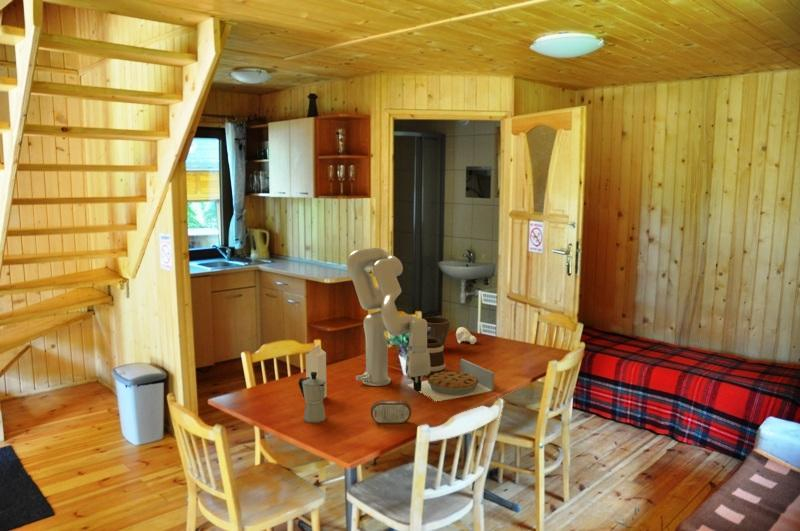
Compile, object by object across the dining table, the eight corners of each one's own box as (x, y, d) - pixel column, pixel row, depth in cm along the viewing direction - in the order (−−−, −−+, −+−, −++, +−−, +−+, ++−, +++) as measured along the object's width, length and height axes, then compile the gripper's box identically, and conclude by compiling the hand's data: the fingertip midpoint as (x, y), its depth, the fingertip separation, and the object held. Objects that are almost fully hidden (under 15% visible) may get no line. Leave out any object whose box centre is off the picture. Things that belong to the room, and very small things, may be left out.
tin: (411, 421, 229) (411, 399, 228) (411, 424, 226) (411, 402, 225) (370, 421, 229) (370, 399, 227) (370, 424, 225) (370, 402, 224)
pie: (466, 399, 250) (466, 387, 249) (418, 391, 261) (419, 379, 260) (486, 384, 269) (486, 373, 268) (440, 377, 280) (440, 366, 279)
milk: (306, 399, 252) (305, 347, 249) (314, 394, 258) (313, 343, 255) (318, 401, 249) (317, 348, 247) (327, 396, 255) (325, 345, 252)
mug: (452, 373, 287) (452, 341, 285) (427, 379, 278) (428, 347, 276) (424, 363, 303) (425, 333, 301) (400, 368, 294) (400, 338, 292)
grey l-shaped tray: (435, 403, 249) (435, 382, 248) (407, 386, 270) (407, 367, 269) (493, 392, 263) (493, 372, 261) (462, 376, 284) (462, 358, 282)
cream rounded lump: (460, 325, 346) (479, 330, 340) (459, 339, 348) (478, 344, 341) (455, 327, 341) (474, 332, 335) (453, 342, 343) (472, 347, 336)
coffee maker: (334, 419, 230) (334, 373, 228) (316, 426, 224) (315, 378, 221) (308, 409, 240) (308, 365, 238) (291, 416, 233) (289, 370, 231)
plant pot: (450, 353, 322) (451, 323, 320) (422, 353, 321) (422, 323, 319) (448, 345, 336) (448, 317, 334) (421, 345, 336) (421, 317, 334)
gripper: (407, 352, 249) (406, 396, 252) (437, 348, 257) (437, 390, 259) (397, 348, 256) (397, 390, 258) (428, 344, 263) (427, 385, 266)
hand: (417, 390), depth 259 cm, fingers closed
